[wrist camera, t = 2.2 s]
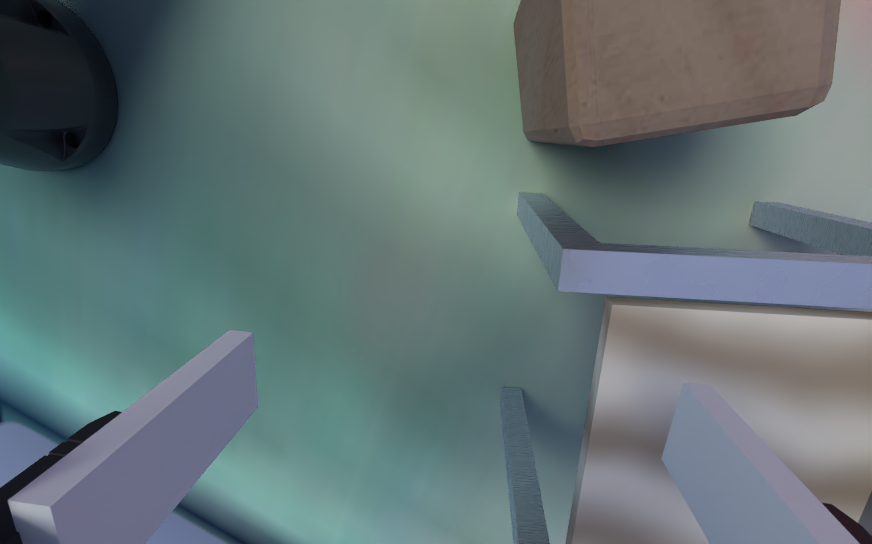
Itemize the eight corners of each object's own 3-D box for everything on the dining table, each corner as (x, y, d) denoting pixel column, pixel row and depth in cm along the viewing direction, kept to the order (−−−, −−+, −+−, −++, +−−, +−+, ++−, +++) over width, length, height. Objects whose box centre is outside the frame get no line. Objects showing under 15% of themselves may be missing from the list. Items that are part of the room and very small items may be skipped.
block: (523, 143, 36) (575, 151, 18) (511, 13, 34) (557, -146, 15) (644, 124, 35) (843, 109, 16) (643, -13, 32) (882, -226, 13)
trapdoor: (605, 296, 20) (635, 333, 16) (1042, 321, 19) (1185, 368, 15) (562, 559, 26) (578, 633, 22) (902, 594, 24) (982, 680, 20)
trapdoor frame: (519, 192, 38) (563, 249, 19) (779, 202, 36) (1116, 276, 17) (500, 403, 44) (519, 601, 26) (719, 420, 43) (912, 645, 24)
